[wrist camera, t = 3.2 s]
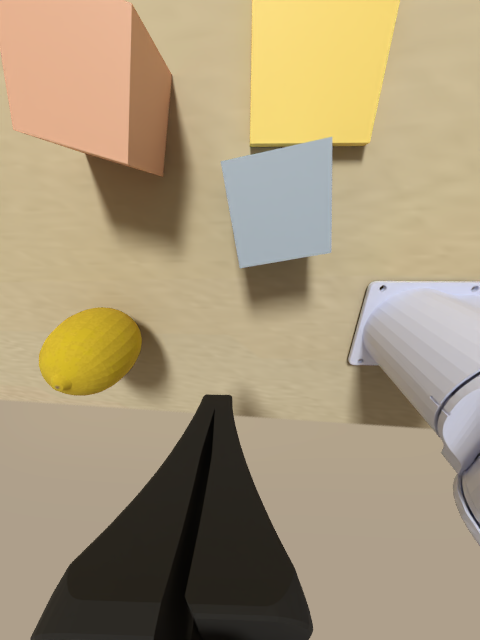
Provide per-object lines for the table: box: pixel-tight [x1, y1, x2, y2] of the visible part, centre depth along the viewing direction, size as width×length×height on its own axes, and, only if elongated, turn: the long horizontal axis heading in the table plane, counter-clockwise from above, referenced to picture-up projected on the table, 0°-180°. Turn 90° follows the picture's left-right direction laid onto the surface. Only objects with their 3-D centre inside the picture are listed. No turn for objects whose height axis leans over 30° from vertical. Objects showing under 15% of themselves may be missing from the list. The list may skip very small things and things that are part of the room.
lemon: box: [39, 307, 142, 395], centre depth 16 cm, size 6×6×8 cm
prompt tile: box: [250, 0, 400, 147], centre depth 12 cm, size 7×7×1 cm
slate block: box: [221, 137, 332, 268], centre depth 13 cm, size 5×5×5 cm
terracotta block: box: [0, 0, 172, 177], centre depth 11 cm, size 5×5×5 cm
